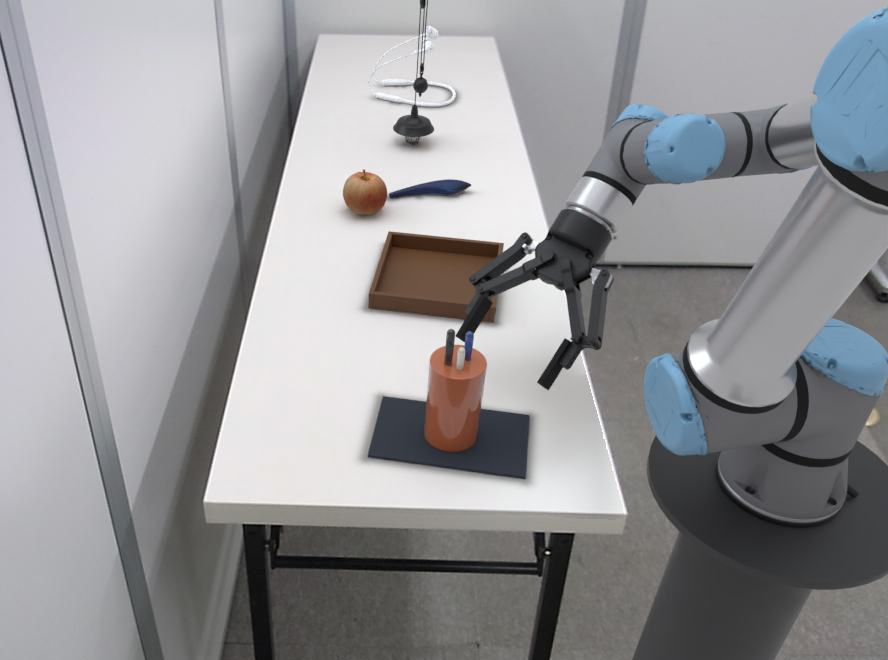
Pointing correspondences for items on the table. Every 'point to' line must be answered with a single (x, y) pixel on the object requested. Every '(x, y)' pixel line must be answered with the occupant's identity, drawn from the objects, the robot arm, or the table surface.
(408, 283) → the tray
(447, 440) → the pen pot
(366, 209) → the apple
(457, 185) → the tapered navy handle
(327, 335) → the table surface
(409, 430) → the mat
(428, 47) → the earphone
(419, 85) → the light fixture
